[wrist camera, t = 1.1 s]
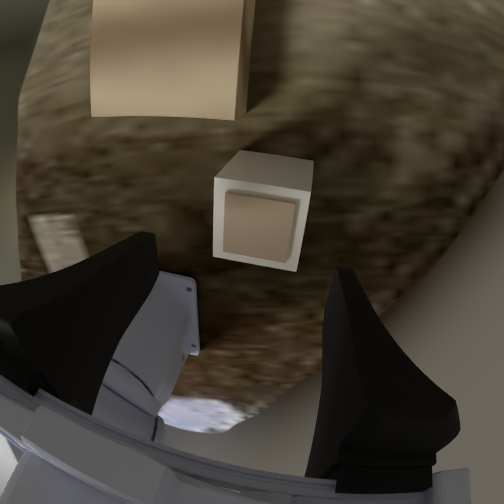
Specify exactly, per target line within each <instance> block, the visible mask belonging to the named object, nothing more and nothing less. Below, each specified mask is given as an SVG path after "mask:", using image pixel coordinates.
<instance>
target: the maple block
mask: <svg viewBox="0 0 504 504" xmlns="http://www.w3.org/2000/svg"><path fill="white" fill-rule="evenodd" d="M255 2H256V0H94V1H93V13H92V27H91V53H90V87H91V114H92V117H103V116H173V117H195V118H211V119H223V120H236V119H238V118H239V117H241V116H243V115H244V114H246V109H247V96H248V83H249V71H250V59H251V47H252V36H253V24H254V13H255Z"/></svg>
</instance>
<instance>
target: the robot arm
mask: <svg viewBox="0 0 504 504" xmlns="http://www.w3.org/2000/svg"><path fill="white" fill-rule="evenodd" d="M188 287H189V288H191V289H189V288H188ZM199 353H200V341H199V326H198V308H197V288H196V281H195V280H194V279H193V278H191V277H187V276H182V275H177V274H173V273H168V272H164V271H159V265H158V257H157V248H156V238H155V234H154V233H148V232H143V231H142V232H139V233H137V234H135V235H133V236H130V237H128V238H126V239H124V240H122V241H121V242H119V243H117V244H115V245H113V246H111V247H109V248H107V249H105V250H103V251H101V252H99V253H97V254H95V255H93V256H91V257H89V258H87V259H85V260H83V261H81V262H79V263H76V264H74V265H72V266H69V267H67V268H64V269H62V270H59V271H56V272H53V273H50V274H47V275H44V276H41V277H38V278H34V279H30V280H26V281H22V282H18V283H12V284H6V285H0V434H2V435H3V436H4V437H5V438H6V440H7V443H8V445H9V447H10V449H11V451H12V453H13V455H14V457H15V459H16V461H17V463H18V464H17V466H16V468H15V470H14V472H13V473H12V475H11V477H10V480H9V481H8V483H7V485H6V487H5V489H4V491H3V493H2V496H1V498H0V504H471V494H470V477H469V469H468V468H464V469H455V470H446V471H440V472H436V473H433V474H432V466H433V465H435V464H436V453H437V452H438V451H439V450H440V449H442V448H443V447H445V446H446V445H447V444H449V443H450V442H451V441H452V440H453V439H454V438H455V437H456V436H457V435H458V433H459V431H460V421H459V413H458V408H457V404H456V401H455V400H454V399H453V398H452V397H451V396H449V395H448V394H447V393H446V392H444V391H443V390H442V389H441V388H439V387H438V386H437V385H436V384H435V383H434V382H432V381H431V380H430V379H429V378H428V377H427V376H426V375H425V374H424V373H423V372H422V371H421V370H420V369H419V368H418V367H417V366H416V365H415V364H414V363H413V362H412V361H411V360H410V358H409V357H408V356H407V355H406V354H405V353H404V352H403V350H402V349H401V348H400V347H399V346H398V345H397V343H396V342H395V341H394V339H393V338H392V336H391V335H390V334H389V332H388V331H387V329H386V328H385V327H384V325H383V324H382V322H381V320H380V319H379V317H378V315H377V314H376V312H375V310H374V309H373V307H372V305H371V303H370V301H369V300H368V298H367V296H366V294H365V292H364V290H363V288H362V286H361V284H360V282H359V280H358V278H357V276H356V274H355V273H354V271H353V270H352V269H346V268H341V267H337V269H336V272H335V276H334V279H333V283H332V286H331V289H330V293H329V296H328V299H327V303H326V306H325V312H324V321H323V331H322V388H321V395H320V402H319V409H318V415H317V421H316V427H315V432H314V437H313V443H312V447H311V452H310V456H309V461H308V465H307V469H306V473H305V477H299V476H291V475H285V474H278V473H272V472H266V471H261V470H255V469H250V468H245V467H240V466H236V465H232V464H227V463H223V462H219V461H215V460H211V459H208V458H204V457H201V456H197V455H194V454H190V453H187V452H183V451H180V450H177V449H174V448H171V447H168V446H165V439H166V431H165V425H164V421H163V419H162V418H161V417H160V416H158V415H157V414H158V412H159V410H160V408H161V407H162V406H163V405H164V404H165V403H166V402H167V400H168V399H169V397H170V395H171V392H172V390H173V388H174V386H175V383H176V381H177V379H178V377H179V374H180V372H181V370H182V367H183V365H184V363H185V361H186V358H187V356H188V354H192V355H199ZM218 486H219V487H218ZM221 487H223V488H221ZM225 488H228V489H232V490H237V491H241V492H240V493H238V492H234V491H231V490H228V489H225Z"/></svg>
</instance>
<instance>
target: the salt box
mask: <svg viewBox="0 0 504 504" xmlns="http://www.w3.org/2000/svg"><path fill="white" fill-rule="evenodd" d="M313 167H314V161H311V160H305V159H299V158H293V157H287V156H280V155H273V154H266V153H259V152H251V151H243V150H240V151H239V152H238V153H237V154H236V155H235V156H234V157H233V158H232V159H231V160H230V161H229V162H228V163H227V164H226V166H225V167H224V168H223V169H222V170H221V171H220V172H219V173H218V174H217V175H216V176H215V177H214V213H213V257H218V258H223V259H229V260H234V261H239V262H245V263H250V264H255V265H261V266H266V267H272V268H277V269H283V270H288V271H294V272H296V271H297V266H298V261H299V256H300V250H301V245H302V240H303V235H304V229H305V224H306V218H307V213H308V207H309V201H310V196H311V188H312V178H313Z"/></svg>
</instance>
